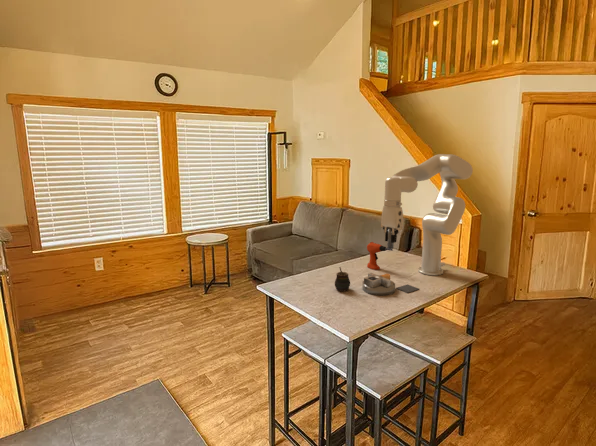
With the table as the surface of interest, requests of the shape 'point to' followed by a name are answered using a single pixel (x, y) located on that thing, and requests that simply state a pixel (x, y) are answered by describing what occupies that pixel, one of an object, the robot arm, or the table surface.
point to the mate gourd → (342, 281)
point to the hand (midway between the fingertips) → (390, 241)
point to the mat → (407, 288)
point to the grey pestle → (389, 244)
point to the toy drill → (373, 249)
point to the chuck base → (379, 289)
